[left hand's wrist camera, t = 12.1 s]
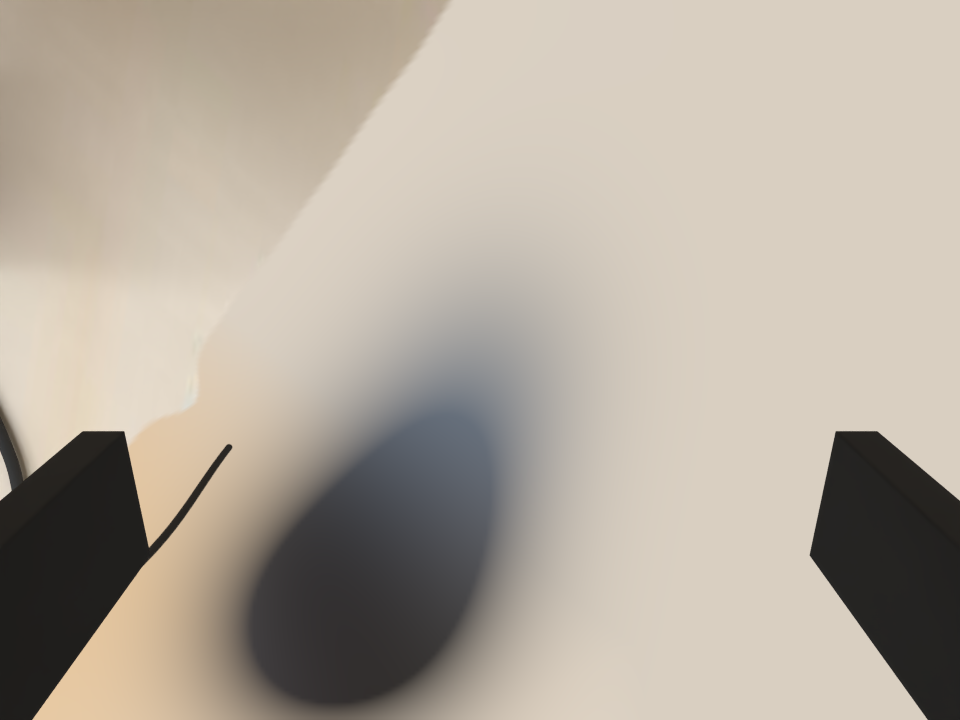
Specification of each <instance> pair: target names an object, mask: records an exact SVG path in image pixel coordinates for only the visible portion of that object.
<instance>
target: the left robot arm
mask: <svg viewBox="0 0 960 720" xmlns="http://www.w3.org/2000/svg"><path fill="white" fill-rule="evenodd" d="M231 449H232V445H231V444H227V445H226V446H225V448H224V449H223V450H222V451H221V453H220V454H219V455H218V457H217V458H216V459H215V461H214V462H213V463H212V465H211V466H210V468H209V469H208V471H207V472H206V473H205V475H204V476H203V478H202V479H201V481H200V482H199V484H198V485H197V486H196V488H195V489H194V491H193V492H192V494H191V495H190V497H189V498H188V500H187V501H186V502H185V504H184V505H183V507H182V508H181V509H180V511H179V512H178V514H177V515H176V516H175V517H174V519H173V520H172V521H171V523H170V524H169V525H168V526H167V528H166V529H165V530H164V531H163V532H162V534H161V535H160V536H159V537H158V538H157V539H156V540H155V542H154V543H153V544H152V545H151V546H150V547H148V542H147V537H146V533H145V528H144V523H143V518H142V514H141V509H140V504H139V499H138V495H137V490H136V485H135V480H134V476H133V471H132V466H131V461H130V457H129V452H128V447H127V442H126V438H125V433H124V431H83V432H81V433H80V434H79V435H78V436H77V437H75V438H74V439H73V440H72V441H71V442H69V443H68V444H67V445H66V446H65V447H64V448H62V449H61V450H60V451H59V452H58V453H56V454H55V455H54V456H53V457H52V458H50V459H49V460H48V461H47V462H46V463H45V464H43V465H42V466H41V467H40V468H39V469H37V470H36V471H35V472H34V473H33V474H32V475H30V476H29V477H28V478H27V479H26V480H24V481H23V477H22V473H21V469H20V465H19V462H18V459H17V456H16V453H15V451H14V448H13V445H12V443H11V440H10V438H9V436H8V433H7V431H6V429H5V426H4V424H3V422H2V420H1V418H0V451H1V454H2V456H3V459H4V462H5V465H6V468H7V471H8V475H9V479H10V484H11V489H12V491H11V492H10V493H9V494H8V495H7V496H5V497H4V498H3V499H2V500H1V501H0V720H32V719H33V718H34V716H35V715H36V714H37V712H38V711H39V709H40V708H41V707H42V705H43V704H44V703H45V701H46V700H47V698H48V697H49V696H50V694H51V693H52V691H53V690H54V689H55V687H56V686H57V684H58V683H59V682H60V680H61V679H62V678H63V676H64V675H65V673H66V672H67V671H68V669H69V668H70V666H71V665H72V664H73V662H74V661H75V659H76V658H77V657H78V655H79V654H80V652H81V651H82V650H83V648H84V647H85V646H86V644H87V643H88V641H89V640H90V639H91V637H92V636H93V634H94V633H95V632H96V630H97V629H98V627H99V626H100V625H101V623H102V622H103V620H104V619H105V618H106V616H107V615H108V613H109V612H110V611H111V609H112V608H113V607H114V605H115V604H116V602H117V601H118V600H119V598H120V597H121V595H122V594H123V593H124V591H125V590H126V588H127V587H128V586H129V584H130V583H131V581H132V580H133V579H134V577H135V576H136V575H137V573H138V572H139V570H140V569H141V568H142V567H143V566H144V565H145V564H146V563H147V562H148V560H149V559H150V558H151V557H152V556H153V555H154V554H155V553H156V552H157V551H158V550H159V549H160V548H161V546H162V545H163V544H164V543H165V542H166V541H167V540H168V538H169V537H170V536H171V535H172V533H173V532H174V531H175V530H176V528H177V527H178V526H179V524H180V523H181V522H182V520H183V519H184V517H185V516H186V515H187V513H188V512H189V510H190V509H191V507H192V506H193V505H194V503H195V502H196V500H197V499H198V497H199V496H200V494H201V493H202V491H203V490H204V488H205V487H206V485H207V484H208V482H209V481H210V479H211V478H212V476H213V475H214V473H215V472H216V470H217V469H218V467H219V466H220V464H221V463H222V462H223V460H224V459H225V457H226V456H227V455H228V453H229V452H230V451H231ZM810 556H811V558H812V559H813V561H814V562H815V563H816V565H817V566H818V568H819V569H820V570H821V572H822V573H823V575H824V576H825V577H826V579H827V580H828V581H829V583H830V584H831V586H832V587H833V588H834V590H835V591H836V593H837V594H838V595H839V597H840V598H841V600H842V601H843V602H844V604H845V605H846V606H847V608H848V609H849V611H850V612H851V614H852V615H853V616H854V618H855V619H856V620H857V622H858V623H859V625H860V626H861V627H862V629H863V630H864V632H865V633H866V634H867V636H868V637H869V639H870V640H871V641H872V643H873V644H874V646H875V647H876V648H877V650H878V651H879V652H880V654H881V655H882V656H883V658H884V659H885V661H886V662H887V664H888V665H889V666H890V668H891V669H892V670H893V672H894V673H895V675H896V676H897V677H898V679H899V680H900V682H901V683H902V684H903V686H904V687H905V689H906V690H907V691H908V693H909V694H910V696H911V697H912V698H913V700H914V701H915V703H916V704H917V705H918V707H919V708H920V709H921V711H922V712H923V714H924V715H925V716H926V718H927V719H928V720H960V501H959V500H958V499H957V498H956V497H955V496H953V495H952V494H951V493H950V492H949V491H947V490H946V489H945V488H944V487H943V486H942V485H940V484H939V483H938V482H937V481H936V480H934V479H933V478H932V477H931V476H930V475H928V474H927V473H926V472H925V471H924V470H923V469H921V468H920V467H919V466H918V465H917V464H915V463H914V462H913V461H912V460H911V459H910V458H908V457H907V456H906V455H905V454H904V453H902V452H901V451H900V450H899V449H898V448H896V447H895V446H894V445H893V444H892V443H891V442H889V441H888V440H887V439H886V438H885V437H883V436H882V435H881V434H880V433H879V432H877V431H836V433H835V438H834V442H833V447H832V452H831V457H830V461H829V466H828V471H827V476H826V480H825V485H824V490H823V495H822V499H821V504H820V509H819V513H818V518H817V523H816V528H815V532H814V537H813V542H812V547H811V551H810Z"/></svg>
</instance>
